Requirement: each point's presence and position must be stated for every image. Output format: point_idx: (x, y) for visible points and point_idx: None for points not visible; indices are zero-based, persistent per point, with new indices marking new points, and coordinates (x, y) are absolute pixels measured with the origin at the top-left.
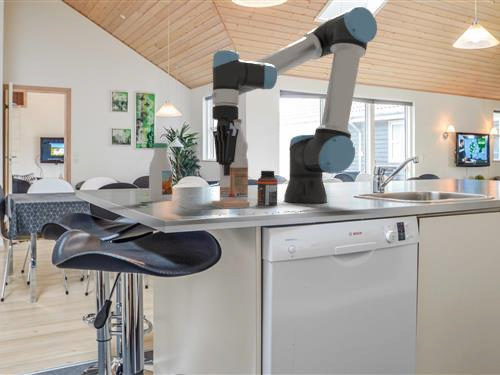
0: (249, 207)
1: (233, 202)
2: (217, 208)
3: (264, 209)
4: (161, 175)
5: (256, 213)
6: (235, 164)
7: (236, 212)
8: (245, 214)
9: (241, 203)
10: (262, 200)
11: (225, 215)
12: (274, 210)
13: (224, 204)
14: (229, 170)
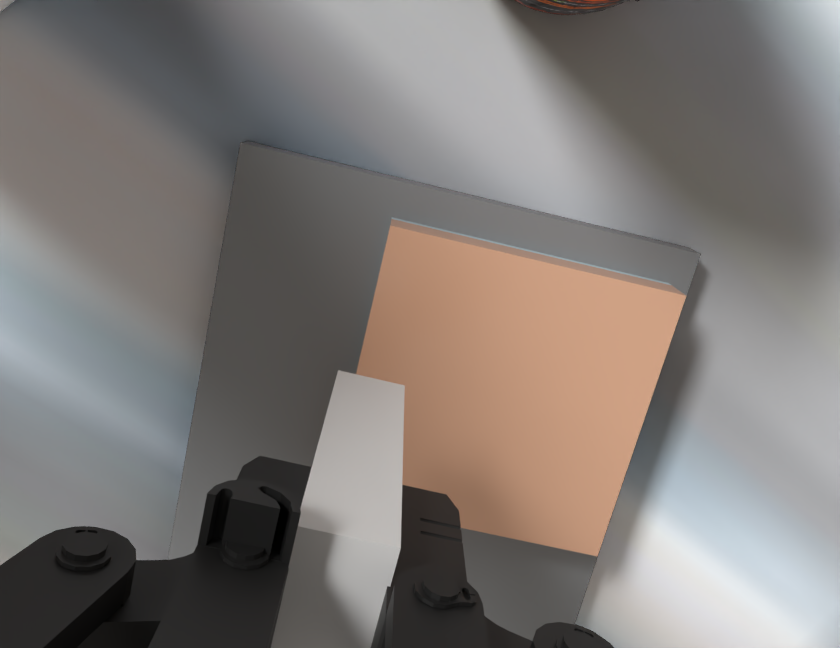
0: (672, 285)
1: (604, 445)
2: (544, 563)
3: (651, 39)
4: None
5: (832, 349)
6: None
7: (656, 434)
8: (813, 467)
9: (652, 379)
10: (619, 2)
11: (747, 618)
12: (791, 22)
13: (597, 542)
14: (459, 552)
